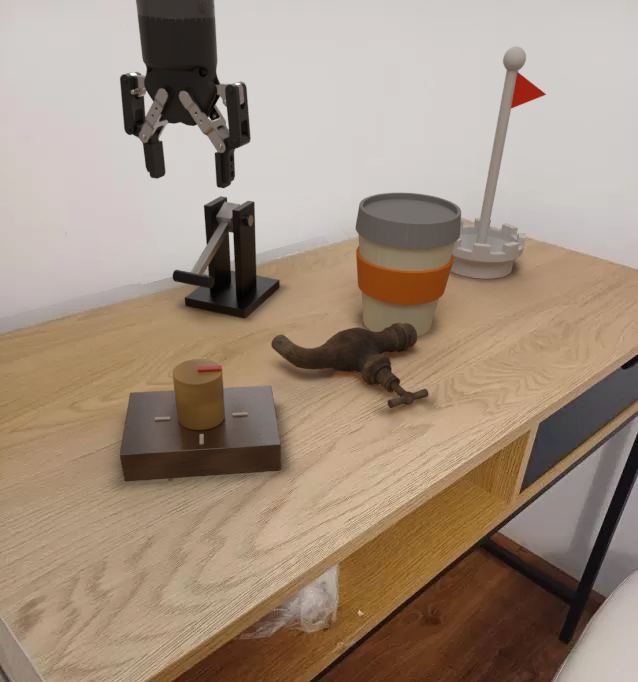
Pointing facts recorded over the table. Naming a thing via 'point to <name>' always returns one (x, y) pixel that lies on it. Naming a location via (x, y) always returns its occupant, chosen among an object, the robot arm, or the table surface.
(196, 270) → the lever with black grip
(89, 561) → the table surface
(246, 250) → the black upright frame
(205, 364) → the tap knob
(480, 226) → the flag stand
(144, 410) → the panel
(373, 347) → the faucet
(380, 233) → the reusable coffee cup
